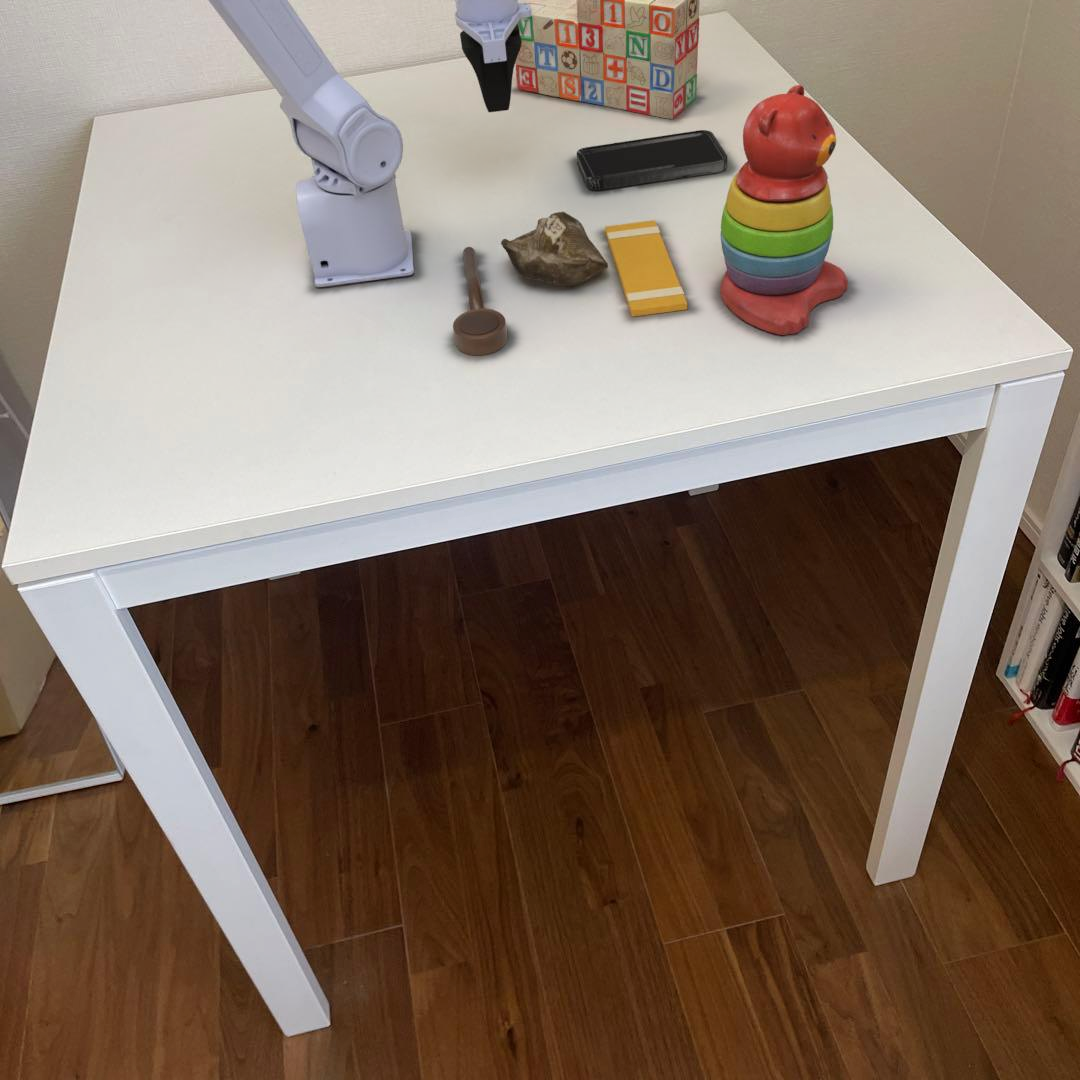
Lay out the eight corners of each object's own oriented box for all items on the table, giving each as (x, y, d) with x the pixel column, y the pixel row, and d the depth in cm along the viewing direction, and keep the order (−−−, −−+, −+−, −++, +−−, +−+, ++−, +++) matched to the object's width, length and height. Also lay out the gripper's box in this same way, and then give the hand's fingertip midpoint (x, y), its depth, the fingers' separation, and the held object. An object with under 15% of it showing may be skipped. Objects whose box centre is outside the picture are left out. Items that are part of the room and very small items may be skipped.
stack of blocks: (515, 91, 134) (505, -17, 125) (542, 71, 137) (534, -35, 128) (674, 120, 125) (675, 6, 116) (698, 98, 128) (701, -14, 119)
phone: (574, 149, 119) (709, 128, 120) (575, 158, 119) (709, 138, 120) (588, 182, 113) (730, 160, 114) (589, 192, 114) (730, 170, 115)
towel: (631, 317, 98) (631, 309, 97) (604, 232, 108) (604, 225, 108) (687, 309, 98) (687, 301, 97) (655, 226, 108) (655, 218, 108)
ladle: (446, 258, 107) (443, 241, 106) (492, 252, 107) (490, 235, 106) (457, 358, 95) (454, 340, 94) (509, 351, 95) (507, 333, 94)
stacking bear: (791, 342, 93) (811, 140, 80) (692, 305, 98) (697, 109, 86) (856, 284, 98) (884, 86, 86) (759, 251, 104) (772, 60, 91)
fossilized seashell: (479, 257, 102) (559, 307, 98) (506, 188, 99) (590, 237, 95) (525, 261, 108) (602, 309, 104) (551, 197, 105) (632, 243, 101)
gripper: (534, -19, 94) (546, 135, 103) (519, -71, 104) (531, 74, 113) (452, -9, 93) (471, 144, 103) (444, -62, 104) (463, 82, 113)
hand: (498, 108), depth 108 cm, fingers closed
